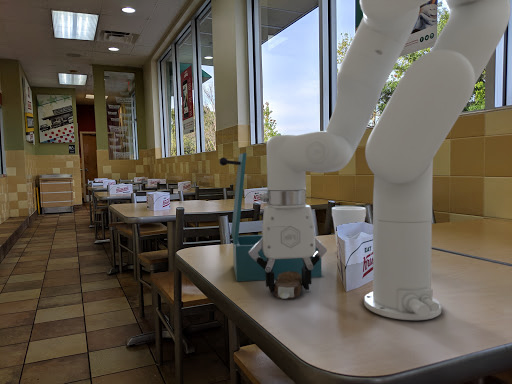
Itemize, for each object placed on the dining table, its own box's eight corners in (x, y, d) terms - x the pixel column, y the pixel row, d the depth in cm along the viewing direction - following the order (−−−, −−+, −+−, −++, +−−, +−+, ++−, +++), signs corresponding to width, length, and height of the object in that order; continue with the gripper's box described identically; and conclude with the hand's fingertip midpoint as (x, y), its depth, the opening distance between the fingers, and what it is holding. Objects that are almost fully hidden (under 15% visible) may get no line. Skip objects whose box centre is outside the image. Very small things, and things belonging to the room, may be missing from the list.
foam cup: (326, 251, 112) (326, 207, 111) (353, 248, 114) (353, 205, 114) (343, 258, 103) (343, 210, 102) (372, 255, 105) (372, 208, 105)
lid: (242, 155, 95) (219, 153, 94) (246, 153, 82) (220, 150, 81) (234, 234, 96) (212, 232, 95) (237, 244, 83) (212, 242, 82)
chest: (307, 262, 98) (307, 232, 98) (321, 276, 86) (321, 242, 85) (233, 266, 96) (232, 236, 96) (236, 281, 84) (235, 246, 83)
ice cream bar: (303, 282, 82) (303, 269, 82) (298, 307, 67) (298, 292, 67) (279, 281, 83) (279, 269, 83) (268, 306, 68) (268, 291, 68)
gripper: (244, 202, 69) (246, 298, 70) (335, 199, 71) (336, 292, 72) (241, 199, 77) (243, 286, 78) (324, 196, 79) (325, 281, 80)
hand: (288, 288), depth 75 cm, fingers closed on ice cream bar, 6 cm apart
